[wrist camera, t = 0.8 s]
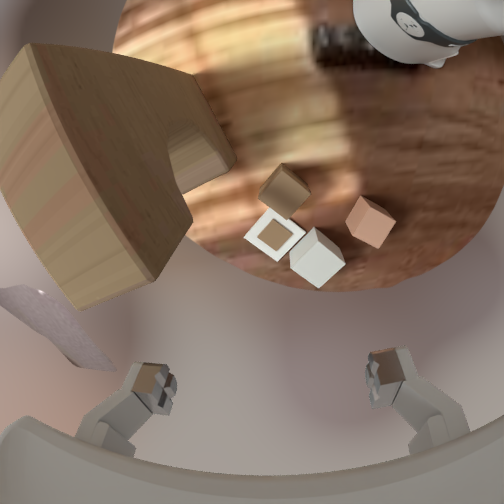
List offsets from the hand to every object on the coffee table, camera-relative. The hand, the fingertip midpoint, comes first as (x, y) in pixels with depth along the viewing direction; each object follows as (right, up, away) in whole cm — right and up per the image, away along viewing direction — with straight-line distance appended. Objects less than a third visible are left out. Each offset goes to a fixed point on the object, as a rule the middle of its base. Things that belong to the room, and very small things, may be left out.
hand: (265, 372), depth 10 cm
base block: (+10, +5, +35) cm, 37 cm away
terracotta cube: (+18, +11, +31) cm, 37 cm away
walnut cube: (+4, +14, +30) cm, 34 cm away
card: (+3, +8, +34) cm, 35 cm away
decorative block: (-9, +23, +27) cm, 36 cm away
